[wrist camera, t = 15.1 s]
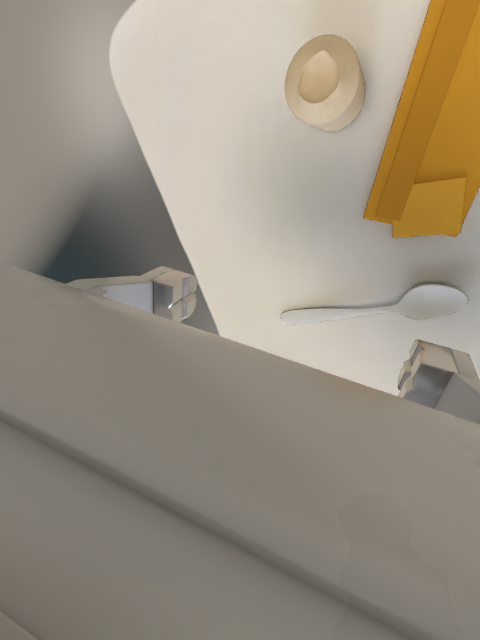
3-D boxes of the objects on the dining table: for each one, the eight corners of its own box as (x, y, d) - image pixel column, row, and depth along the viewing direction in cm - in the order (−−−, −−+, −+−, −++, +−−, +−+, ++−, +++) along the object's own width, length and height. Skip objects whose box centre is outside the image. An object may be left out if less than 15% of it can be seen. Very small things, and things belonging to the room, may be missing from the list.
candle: (319, 56, 31) (295, 18, 22) (376, 72, 30) (373, 38, 21) (298, 122, 34) (269, 110, 25) (349, 139, 32) (337, 132, 24)
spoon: (467, 312, 35) (470, 318, 34) (284, 332, 44) (281, 338, 43) (464, 275, 34) (468, 280, 32) (277, 304, 43) (273, 309, 42)
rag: (587, -47, 23) (594, -54, 22) (450, 249, 33) (452, 251, 32) (445, -46, 25) (447, -53, 24) (359, 229, 36) (359, 231, 35)
